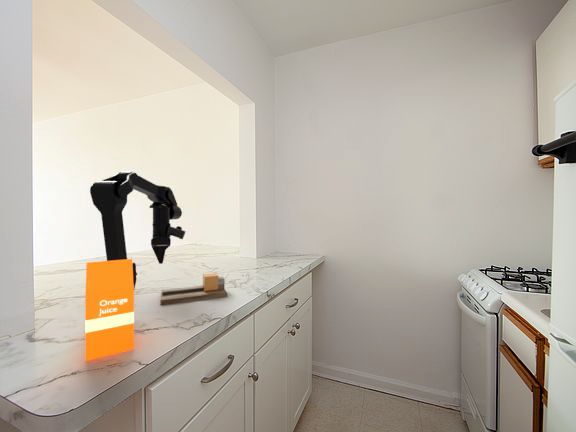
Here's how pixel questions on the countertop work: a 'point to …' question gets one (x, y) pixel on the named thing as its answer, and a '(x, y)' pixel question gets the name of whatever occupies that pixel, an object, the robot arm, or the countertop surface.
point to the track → (192, 293)
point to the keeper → (210, 281)
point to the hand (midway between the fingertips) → (161, 261)
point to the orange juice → (109, 308)
